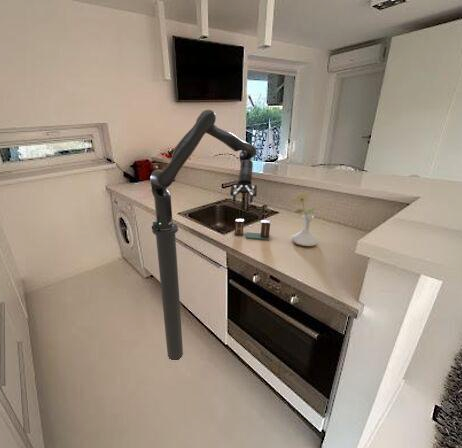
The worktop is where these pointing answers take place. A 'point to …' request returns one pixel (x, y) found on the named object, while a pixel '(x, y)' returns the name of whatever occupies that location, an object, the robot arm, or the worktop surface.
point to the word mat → (255, 236)
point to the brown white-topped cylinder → (265, 228)
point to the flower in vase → (304, 236)
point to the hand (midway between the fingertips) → (242, 202)
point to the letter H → (239, 227)
